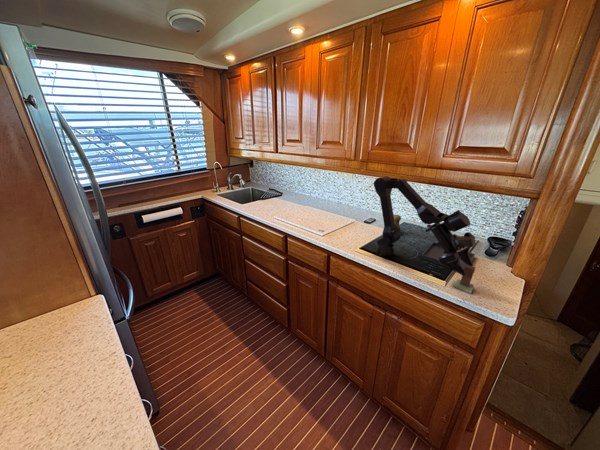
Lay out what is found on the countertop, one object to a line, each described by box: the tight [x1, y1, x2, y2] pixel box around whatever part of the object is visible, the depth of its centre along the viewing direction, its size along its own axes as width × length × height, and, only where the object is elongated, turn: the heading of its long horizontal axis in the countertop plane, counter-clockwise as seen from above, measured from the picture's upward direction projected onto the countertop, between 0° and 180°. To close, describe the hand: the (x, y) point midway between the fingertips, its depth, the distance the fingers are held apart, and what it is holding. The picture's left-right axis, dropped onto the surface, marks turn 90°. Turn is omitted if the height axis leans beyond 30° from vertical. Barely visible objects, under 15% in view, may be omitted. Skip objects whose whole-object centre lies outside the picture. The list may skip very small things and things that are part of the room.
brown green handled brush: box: [453, 265, 476, 294], centre depth 94 cm, size 6×4×10 cm, turn 47°
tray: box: [420, 241, 476, 270], centre depth 117 cm, size 19×19×2 cm
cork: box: [393, 214, 402, 228], centre depth 143 cm, size 6×6×11 cm
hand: (467, 270), depth 93 cm, fingers open, 9 cm apart
